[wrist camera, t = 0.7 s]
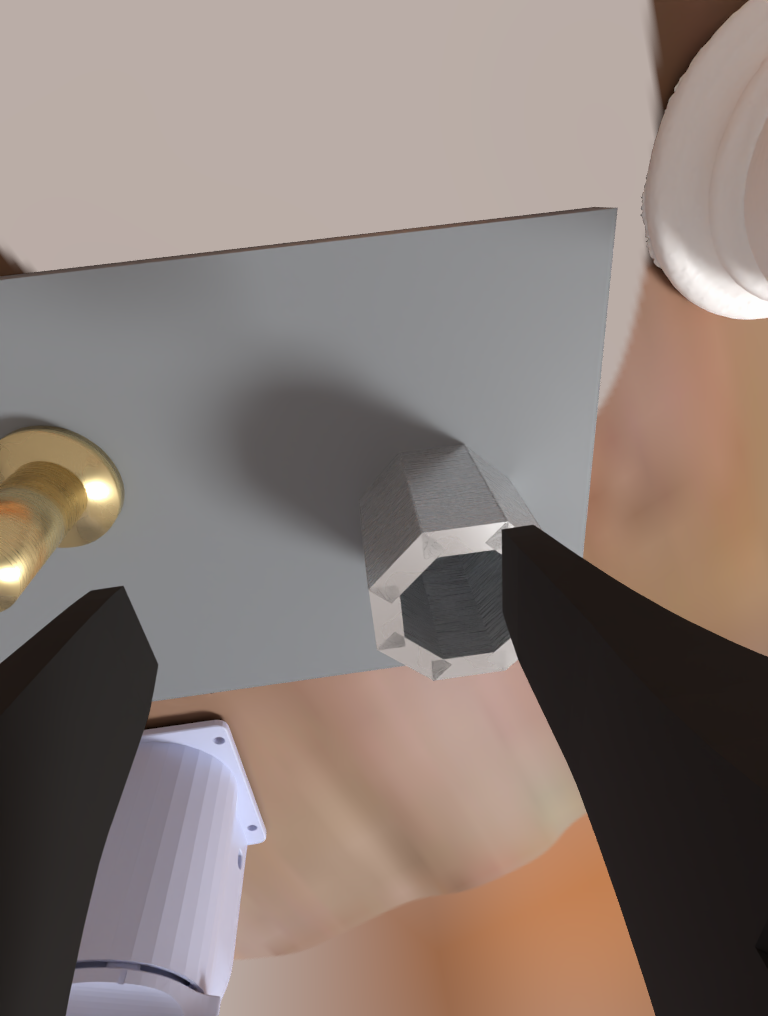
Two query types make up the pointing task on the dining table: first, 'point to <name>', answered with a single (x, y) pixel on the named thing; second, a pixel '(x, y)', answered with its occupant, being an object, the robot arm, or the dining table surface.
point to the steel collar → (440, 560)
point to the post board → (282, 426)
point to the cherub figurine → (716, 173)
